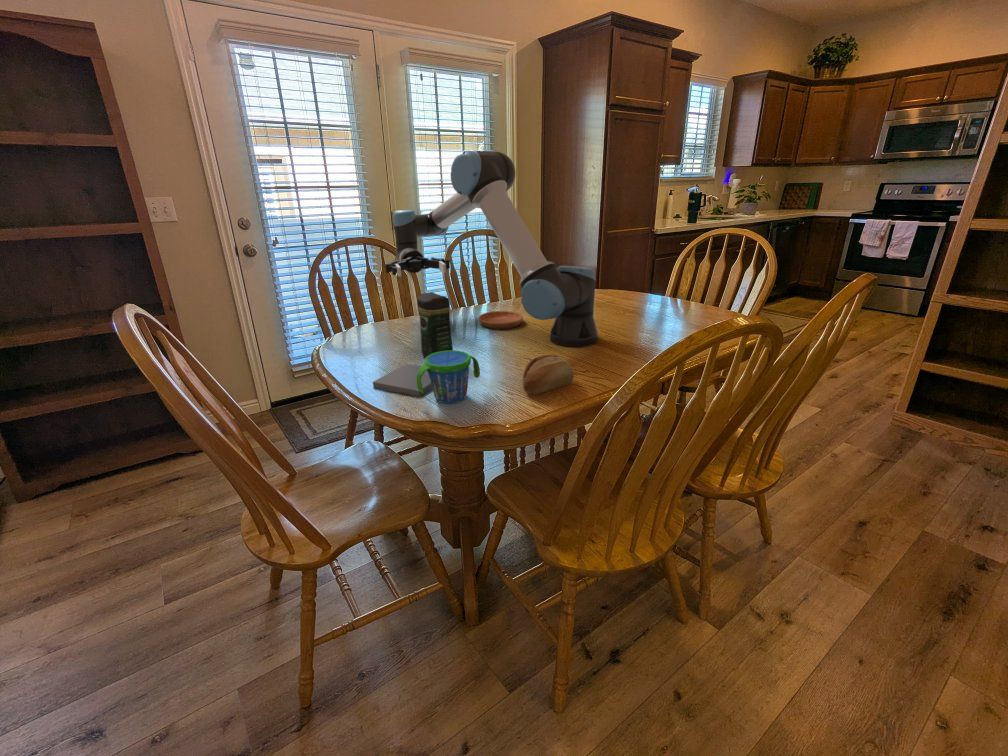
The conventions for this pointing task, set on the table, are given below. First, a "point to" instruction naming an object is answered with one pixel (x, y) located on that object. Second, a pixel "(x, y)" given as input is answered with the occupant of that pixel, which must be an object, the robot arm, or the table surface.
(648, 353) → the table surface
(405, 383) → the stand
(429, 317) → the coffee jar
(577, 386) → the table surface
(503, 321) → the saucer
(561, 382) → the bread roll
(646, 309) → the table surface
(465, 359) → the snack cup
